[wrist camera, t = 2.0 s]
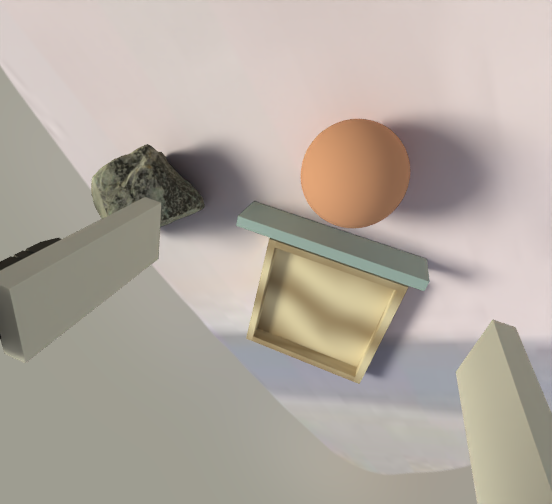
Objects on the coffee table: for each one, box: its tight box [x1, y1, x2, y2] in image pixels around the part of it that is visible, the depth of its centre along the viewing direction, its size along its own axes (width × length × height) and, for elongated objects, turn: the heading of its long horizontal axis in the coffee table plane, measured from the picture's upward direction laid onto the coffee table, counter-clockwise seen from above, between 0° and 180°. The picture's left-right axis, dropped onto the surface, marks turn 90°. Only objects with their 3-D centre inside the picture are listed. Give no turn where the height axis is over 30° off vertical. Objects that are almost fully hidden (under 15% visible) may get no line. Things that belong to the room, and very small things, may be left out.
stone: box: [91, 144, 204, 227], centre depth 35 cm, size 10×10×10 cm
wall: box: [236, 201, 429, 291], centre depth 32 cm, size 1×17×4 cm, turn 78°
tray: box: [247, 238, 408, 384], centre depth 37 cm, size 13×13×2 cm
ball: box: [301, 119, 410, 228], centre depth 27 cm, size 8×8×8 cm
